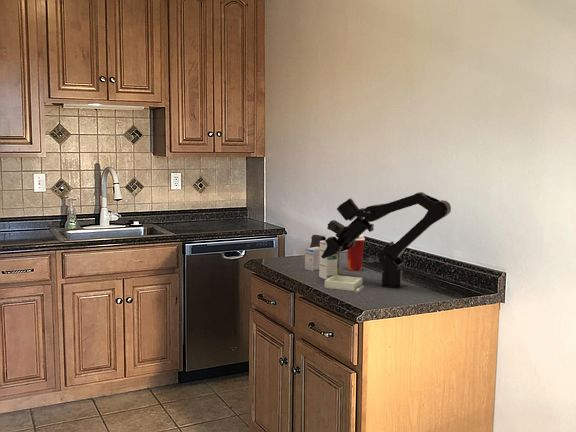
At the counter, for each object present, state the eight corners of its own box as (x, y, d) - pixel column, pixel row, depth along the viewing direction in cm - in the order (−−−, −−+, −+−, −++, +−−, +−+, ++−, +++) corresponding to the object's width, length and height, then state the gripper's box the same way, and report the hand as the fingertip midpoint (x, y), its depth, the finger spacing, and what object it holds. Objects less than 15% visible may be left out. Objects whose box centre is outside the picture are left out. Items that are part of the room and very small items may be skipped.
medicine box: (315, 266, 269) (316, 246, 268) (324, 268, 266) (325, 247, 265) (304, 269, 263) (304, 248, 262) (313, 271, 260) (313, 250, 259)
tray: (362, 284, 237) (362, 277, 237) (354, 291, 227) (354, 283, 227) (333, 281, 241) (333, 274, 241) (324, 287, 231) (324, 280, 231)
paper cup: (367, 269, 266) (368, 235, 264) (356, 271, 260) (357, 237, 259) (352, 266, 271) (353, 233, 269) (341, 269, 266) (342, 235, 264)
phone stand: (314, 265, 273) (315, 237, 271) (305, 262, 277) (306, 235, 276) (330, 262, 278) (331, 235, 277) (321, 260, 283) (321, 233, 281)
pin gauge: (364, 286, 232) (363, 289, 233) (362, 284, 233) (360, 287, 233) (358, 291, 225) (357, 293, 225) (356, 289, 225) (354, 292, 226)
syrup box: (325, 280, 244) (327, 242, 242) (318, 277, 249) (319, 239, 247) (339, 279, 246) (340, 241, 245) (331, 276, 251) (332, 239, 250)
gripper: (349, 211, 251) (322, 237, 257) (331, 216, 235) (303, 243, 241) (368, 233, 249) (340, 258, 255) (350, 239, 232) (321, 266, 238)
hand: (326, 256), depth 247 cm, fingers closed on syrup box, 8 cm apart
